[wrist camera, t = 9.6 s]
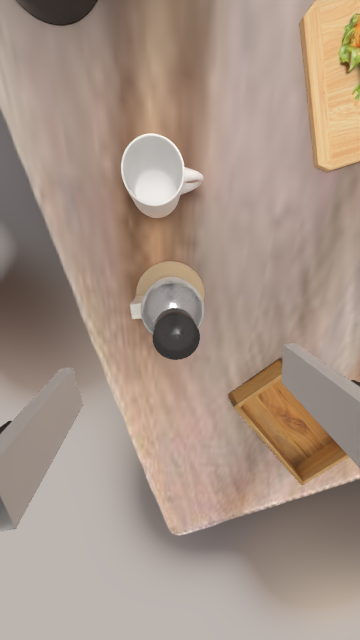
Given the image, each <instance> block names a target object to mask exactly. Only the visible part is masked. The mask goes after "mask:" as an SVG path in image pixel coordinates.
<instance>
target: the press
mask: <svg viewBox="0 0 360 640" xmlns="http://www.w3.org/2000/svg"><path fill="white" fill-rule="evenodd" d="M166 283H179V284H182V285H185V286H187V287H189V288H190V289H191V290H192V291H193V292H194V293H195V294H196V295H197V297H198V298H199V300H200V303H201V306H202V317H201V321H200V323H199V325H198V327H197V328H199V326H200V324H201V322H202V320H203V317H204V300H205V291H204V286H203V283H202V281H201V279H200V277H199V276H198V274H197V273H196V272H195V271H194V270H193V269H192V268H190V267H189V266H187V265H185V264H183V263H180V262H175V261H165V262H161V263H158V264H155V265H153V266H152V267H150V268H149V269H148V270H147V271H146V272H145V273H144V274H143V275H142V277H141V278H140V280H139V282H138V285H137V289H136V297H135V298H134V300H133V301H132V302H131V304H130V309H131V315H132V319H140V318H142V321H143V323H144V325H145V327H146V328H147V330H148V331H149V332H150V333H151V334H153V333H152V332H151V331H150V330H149V328H148V327H147V325H146V323H145V320H144V316H143V308H144V304H145V301H146V299H147V297H148V296H149V294H150V293H151V292H152V291H153V290H154V289H155V288H157V287H158V286H160V285H163V284H166Z"/></svg>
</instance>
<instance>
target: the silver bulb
mask: <svg viewBox="0 0 360 640" xmlns="http://www.w3.org/2000/svg"><path fill="white" fill-rule="evenodd" d="M143 316H144V320H145V323H146V325H147V327H148V328H149V330H150V331H151V332H152V333H153V343H154V346H155V348H156V350H157V351H158V352H159V353H160V354H161V355H162V356H164V357H166V358H169V359H174V360H178V359H183V358H186V357H188V356H190V355H191V354H192V353H193V352H194V351H195V350H196V348H197V347H198V344H199V340H200V334H199V330H198V328H197V327H198V325H199V323H200V321H201V317H202V306H201V303H200V300H199V298H198V297H197V295H196V294H195V293H194V292H193V291H192V290H191V289H190V288H189V287H187V286H185V285H182V284H179V283H166V284H163V285H160V286H158V287H157V288H155V289H154V290H153V291H152V292H151V293H150V294H149V296H148V297H147V299H146V301H145V304H144V308H143Z"/></svg>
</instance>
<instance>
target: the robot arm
mask: <svg viewBox="0 0 360 640" xmlns="http://www.w3.org/2000/svg"><path fill="white" fill-rule="evenodd" d="M17 1H18V3H19V4H20V5H21V6H22V7H23V8H24V9H25V10H27V11H28V12H29V13H30V14H32V15H33V16H35V17H37V18H38V19H40V20H43V21H45V22H48V23H52V24H68V23H72V22H75V21H77V20H79V19H81V18H82V17H83V16H85V15H86V14H87V13H88V12H89V11H90V10H91V8H92V7H93V6H94V4H95V2H96V1H97V0H17ZM281 382H282V384H283V385H284V386H285V387H286V388H287V389H288V390H289V391H290V392H291V393H292V394H293V396H294V397H295V398H296V399H297V400H298V401H299V402H300V403H301V404H302V405H303V407H304V408H305V409H306V410H307V411H308V412H309V413H310V414H311V415H312V416H313V418H314V419H315V420H316V421H317V422H318V423H319V424H320V425H321V426H322V427H323V428H324V430H325V431H326V432H327V433H328V434H329V435H330V436H331V437H332V438H333V439H334V441H335V442H336V443H337V444H338V445H339V446H340V447H341V448H342V449H343V450H344V451H345V453H346V454H347V455H348V456H349V457H350V458H351V459H352V460H353V461H354V462H355V464H356V465H357V466H358V467H359V468H360V382H357V381H355V380H349V379H348V378H346V377H345V376H343V375H342V374H340V373H339V372H337V371H336V370H334V369H333V368H331V367H330V366H328V365H327V364H325V363H324V362H323V361H321V360H320V359H318V358H317V357H315V356H314V355H312V354H311V353H309V352H308V351H306V350H305V349H303V348H302V347H300V346H299V345H297V344H296V343H291V344H283V362H282V380H281ZM82 406H83V404H82V400H81V396H80V392H79V389H78V384H77V380H76V377H75V373H74V369H73V367H72V368H63V369H60V370H59V371H58V372H57V373H56V374H55V375H54V376H53V377H52V378H51V380H50V381H49V382H48V383H47V384H46V385H45V386H44V387H43V388H42V389H41V390H40V391H39V393H38V394H37V395H36V396H35V397H34V398H33V399H32V400H31V401H30V402H29V403H28V405H27V406H26V407H25V408H24V409H23V410H22V411H21V412H20V413H19V414H18V416H16V418H15V419H14V420H13V421H8V422H7V423H6V424H4V425H3V426H1V427H0V531H4V530H12V529H16V527H17V525H18V524H19V522H20V520H21V518H22V516H23V514H24V512H25V511H26V509H27V507H28V505H29V503H30V501H31V500H32V498H33V496H34V494H35V492H36V490H37V489H38V487H39V485H40V483H41V481H42V479H43V478H44V476H45V474H46V472H47V470H48V468H49V467H50V465H51V463H52V461H53V459H54V457H55V456H56V454H57V452H58V450H59V448H60V446H61V445H62V443H63V441H64V439H65V437H66V435H67V434H68V432H69V430H70V428H71V426H72V424H73V423H74V421H75V419H76V417H77V415H78V413H79V412H80V410H81V408H82Z"/></svg>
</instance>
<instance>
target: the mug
mask: <svg viewBox="0 0 360 640" xmlns="http://www.w3.org/2000/svg"><path fill="white" fill-rule="evenodd" d="M121 174H122V179H123V182H124V184H125V187H126V189H127V190H128V192H129V194H130V196H131V198H132V199H133V201H134V203H135V205H136V206H137V208H138V209H139V210H140V211H141V212H142V213H143V214H145V215H147V216H149V217H152V218H162V217H165V216H167V215H169V214H170V213H171V212H173V210H174V209H175V208H176V206H177V204H178V202H179V198H180V195H182V194H184V193H187V192H189V191H191V190H193V189H195V188H197V187H198V186H199V185H200V184H201V183H202V182H203V176H202V174H200V173H199V172H197V171H195V170H192V169H189V168H186V167H184V162H183V158H182V156H181V154H180V151H179V150H178V148H177V147H176V146H175V145H174V143H173V142H171V141H170V140H169V139H168V138H166V137H164V136H162V135H159V134H154V133H149V134H144V135H141V136H138V137H137V138H135V139H134V140H133V141H132V142H130V144H129V145H128V146H127V148H126V150H125V152H124V154H123V157H122V162H121ZM194 180H200V181H199V182H196V183H185V182H189V181H194Z"/></svg>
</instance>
